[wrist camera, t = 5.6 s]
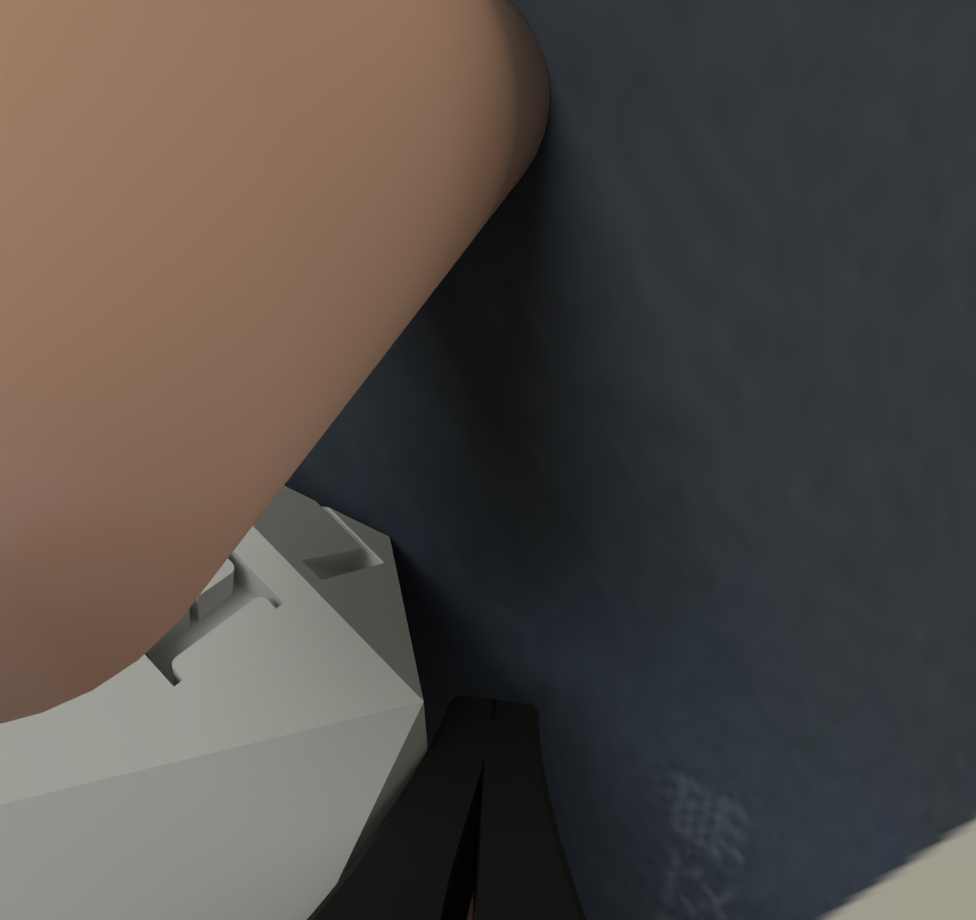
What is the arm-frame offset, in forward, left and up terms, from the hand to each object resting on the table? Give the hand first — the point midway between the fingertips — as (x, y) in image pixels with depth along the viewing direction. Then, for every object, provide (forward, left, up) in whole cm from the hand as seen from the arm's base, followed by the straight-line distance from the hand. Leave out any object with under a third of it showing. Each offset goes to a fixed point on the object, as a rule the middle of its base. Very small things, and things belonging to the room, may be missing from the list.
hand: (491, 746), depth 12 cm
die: (0, +5, -3) cm, 6 cm away
